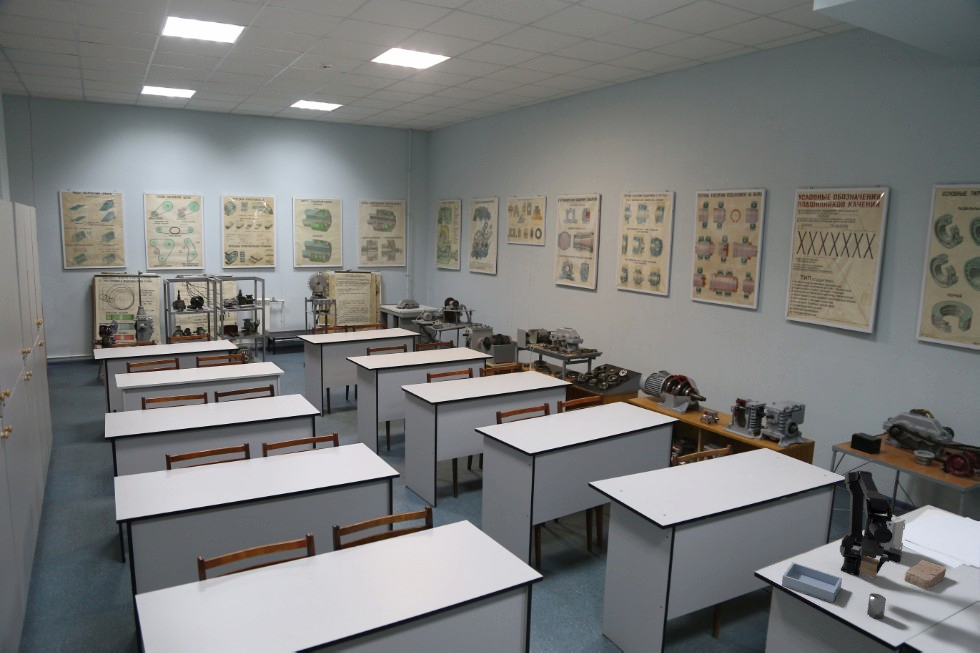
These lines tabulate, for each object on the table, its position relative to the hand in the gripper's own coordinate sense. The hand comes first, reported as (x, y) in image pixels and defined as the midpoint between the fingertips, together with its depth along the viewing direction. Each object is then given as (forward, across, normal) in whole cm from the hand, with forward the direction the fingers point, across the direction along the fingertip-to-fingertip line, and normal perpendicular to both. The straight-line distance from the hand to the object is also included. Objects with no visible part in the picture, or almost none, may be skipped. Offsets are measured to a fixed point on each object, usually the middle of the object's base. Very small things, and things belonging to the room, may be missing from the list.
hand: (868, 570), depth 235 cm
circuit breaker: (+11, 0, +44) cm, 46 cm away
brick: (+12, +16, +30) cm, 36 cm away
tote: (+11, -17, -5) cm, 21 cm away
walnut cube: (+1, 0, 0) cm, 1 cm away
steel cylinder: (+11, +5, -11) cm, 16 cm away
